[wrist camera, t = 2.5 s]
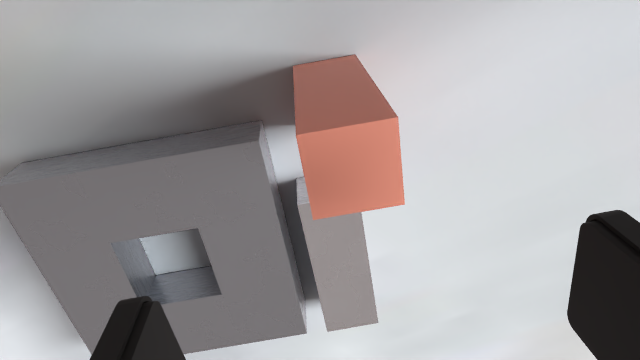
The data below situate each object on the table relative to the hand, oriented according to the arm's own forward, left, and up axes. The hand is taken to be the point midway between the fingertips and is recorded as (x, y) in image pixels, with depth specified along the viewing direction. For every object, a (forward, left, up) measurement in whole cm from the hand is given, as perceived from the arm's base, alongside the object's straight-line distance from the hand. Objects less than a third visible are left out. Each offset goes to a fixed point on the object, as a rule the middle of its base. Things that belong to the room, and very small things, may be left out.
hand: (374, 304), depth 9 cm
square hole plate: (+8, -11, -16) cm, 21 cm away
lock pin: (0, 0, -16) cm, 16 cm away
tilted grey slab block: (+10, -1, -16) cm, 19 cm away
